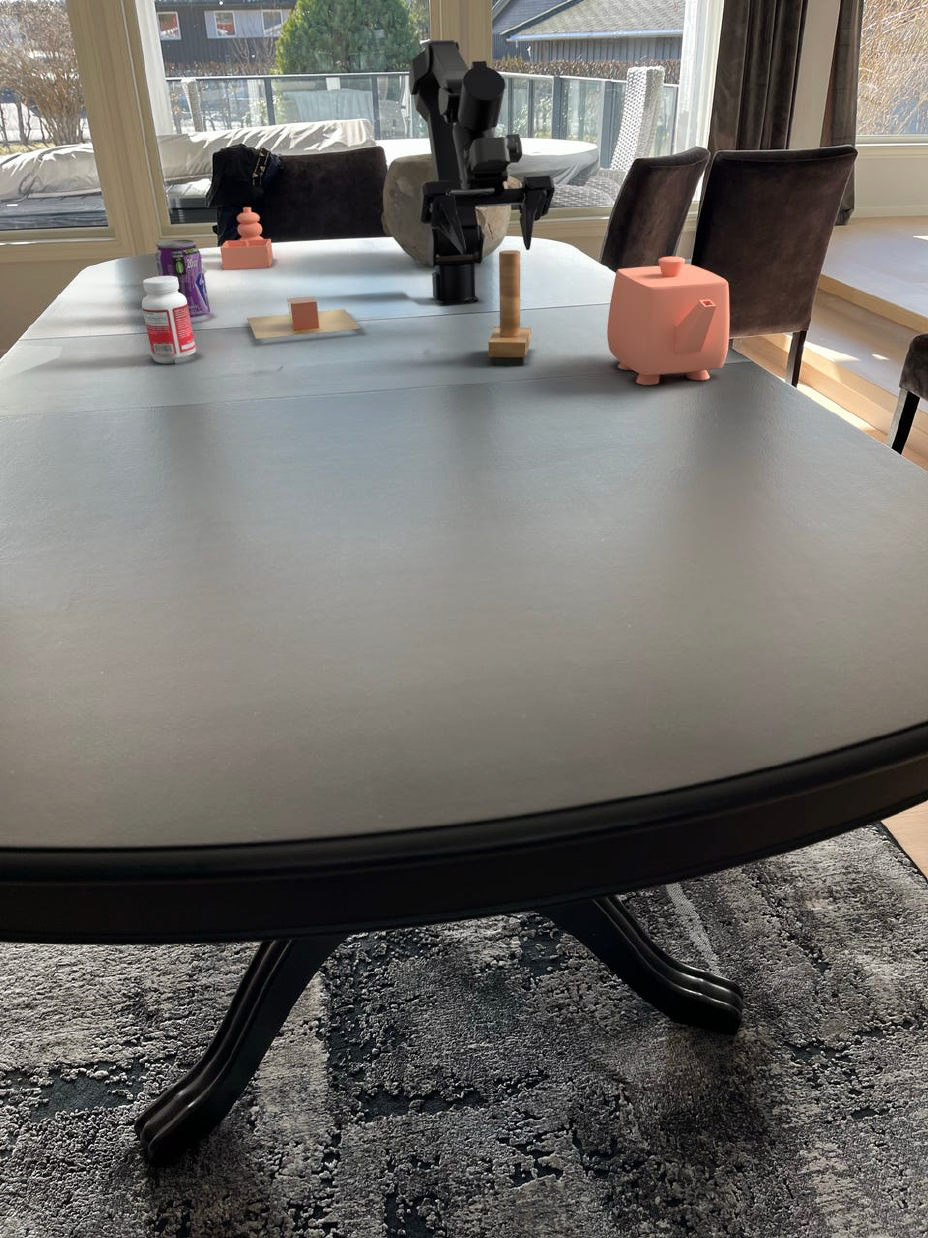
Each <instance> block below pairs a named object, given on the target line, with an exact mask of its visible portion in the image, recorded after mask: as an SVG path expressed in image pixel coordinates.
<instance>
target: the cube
mask: <svg viewBox="0 0 928 1238" xmlns="http://www.w3.org/2000/svg"><path fill="white" fill-rule="evenodd" d="M286 300H287V310H288V314H289V318H290V325H291V327H292V328H293V330H294V331H296V330H306V329H316V328H319V318H318V311H319V309H318V302H317V300H316V299H315V297H314V296H313V295H312V296H311V295H310V296H300V297H290V298H287V299H286Z"/></svg>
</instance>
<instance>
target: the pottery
mask: <svg viewBox="0 0 928 1238" xmlns="http://www.w3.org/2000/svg"><path fill="white" fill-rule="evenodd" d="M242 210H243V212H240V213H239V214H238V215H237V216H236V220H237V222H238V223H239V224H238V226H237V233H238V235H240V236H241V237H240V238H239V239H237V240H225V242H223V244H222V245H221V246H220V255H221V263H222V268H223V269H222V270H224V271H225V270H226V271H227V270H246V269H247V270H249V269H266V268H267V269H268V268H269V269H270V268H271V265H272V264H273V262H274V253H273V246H272V245H273V244H272V239H271V238H264V237H262V236H260V235H261V234H262V232H263V227H262V225H261V224H260V223H259V222H260V218H261V217H260V215H259V214H258V213H257V212H253V211H252V207H250V206H245V207H243V208H242Z"/></svg>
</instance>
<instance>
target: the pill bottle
mask: <svg viewBox="0 0 928 1238" xmlns="http://www.w3.org/2000/svg"><path fill="white" fill-rule="evenodd" d="M142 284H143V290H144V292H145V293H146V295H145V297H143V298H142V302H141V308H142V312H143V318H144V322H145V327H146V332H147V337H148V341H149V347H150V352H151V355H152V359H153V360H154V361H155V362H156V363H159V364H163V365H167V364H169V365H171V364H176V358H181V357H183V358H184V357H186V356H190V355H193V354H195V353H196V351H197V349H196V342H195V337H194V333H193V332H194V331H193V325H192V320H191V318H190V315H189V309H188V304H187V300H186V298H185V296H184V295H183V294H181V293H179V292H178V289H179V283H178V279H177V277H175V276H159V275H158V276H153V277H149V278H145V279H143V280H142Z"/></svg>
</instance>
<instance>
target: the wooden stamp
mask: <svg viewBox="0 0 928 1238" xmlns="http://www.w3.org/2000/svg"><path fill="white" fill-rule="evenodd" d="M498 269H499V271H498V279H499V280H498V281H499V282H498V283H499V284H498V285H499V286H498V287H499V291H498V292H499V327H495V328H494V330H493V332H492V334H491V336H490V338H489V341H488V342H487V343H488V344H487V345H488V357H489V358H490V365H492V366H524V364H525V361H526V358H527V355H528V352H529V347H530V345H531V340H532V339H531V338H532V337H531V333H532V332H531V331H532V329H531V327H521V251H520V250H517V249H506V250H500V251H499V253H498Z"/></svg>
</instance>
